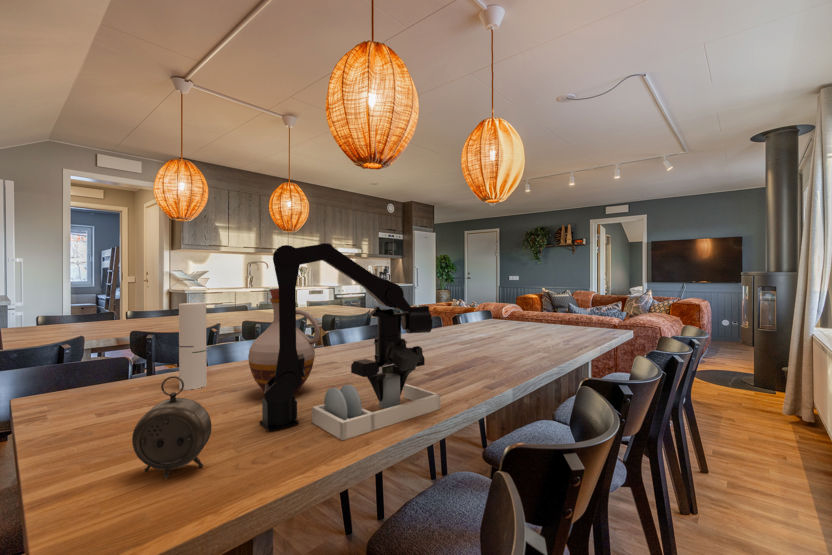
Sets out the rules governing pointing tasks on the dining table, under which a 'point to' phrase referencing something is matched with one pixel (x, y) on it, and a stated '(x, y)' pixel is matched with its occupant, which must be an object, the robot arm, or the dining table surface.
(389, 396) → the grey rectangular slab
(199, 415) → the alarm clock
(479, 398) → the dining table surface
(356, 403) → the dish rack
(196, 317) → the cylindrical container
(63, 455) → the dining table surface
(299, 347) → the jug
